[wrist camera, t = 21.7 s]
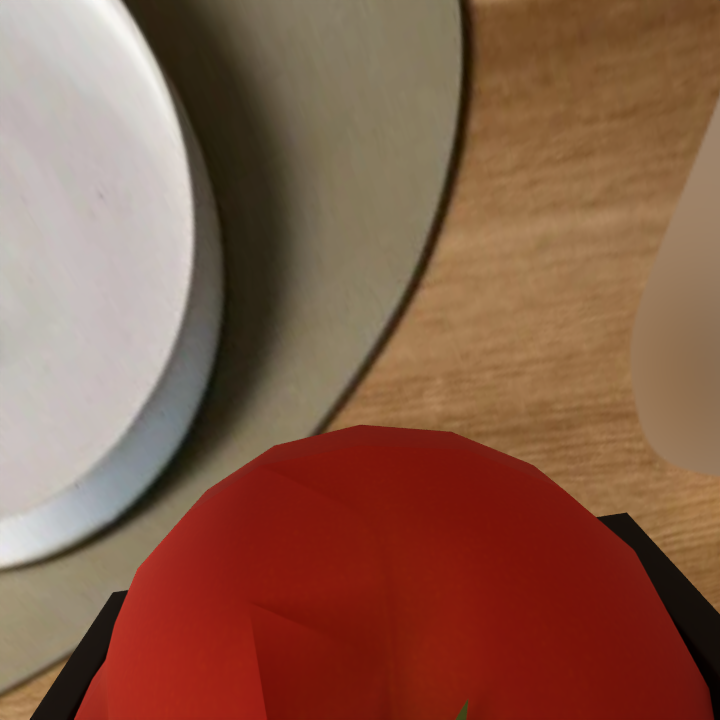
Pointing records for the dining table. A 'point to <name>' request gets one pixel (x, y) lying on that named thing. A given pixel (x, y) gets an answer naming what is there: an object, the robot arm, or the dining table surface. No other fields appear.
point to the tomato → (393, 597)
